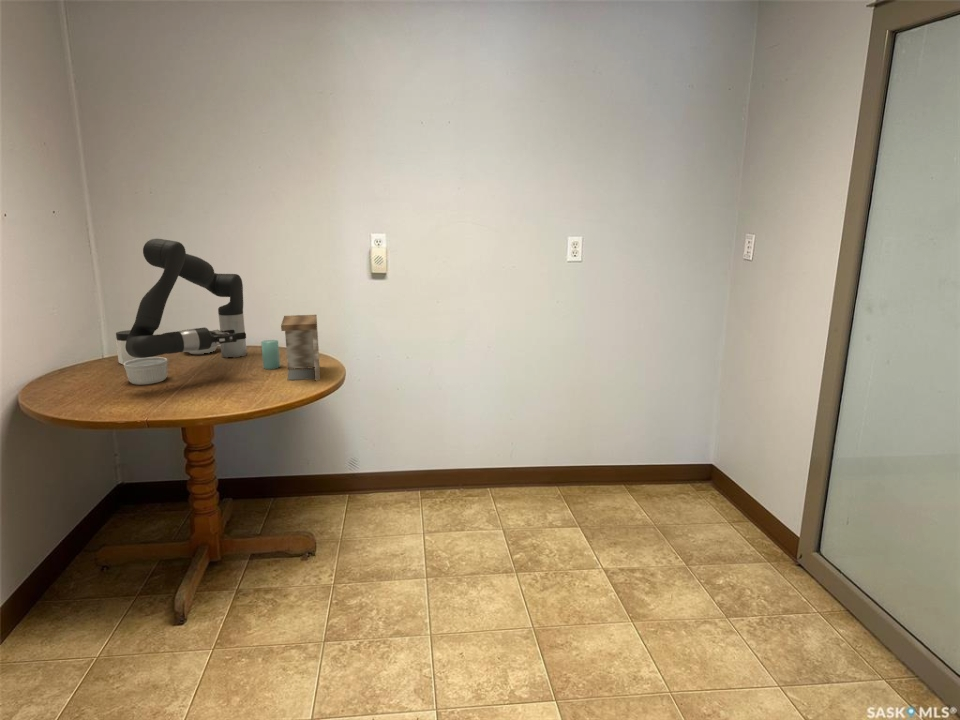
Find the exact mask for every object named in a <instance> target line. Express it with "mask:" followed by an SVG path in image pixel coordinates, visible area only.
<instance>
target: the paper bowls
mask: <svg viewBox="0 0 960 720" xmlns="http://www.w3.org/2000/svg"><path fill="white" fill-rule="evenodd" d="M219 346H221V345H220V344H219V343H215V342H214V343H212V345H211V347H210V348H209V349H205V350H198V351H191V352H188V353H189V354H192V355H205V354H204V353H208V354H211V353H210V352H212V353H214V352H215V351H216V350H217V348H218V347H219ZM213 351H214V352H213Z"/></svg>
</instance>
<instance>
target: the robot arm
mask: <svg viewBox="0 0 960 720" xmlns="http://www.w3.org/2000/svg"><path fill="white" fill-rule="evenodd" d="M142 253H143V257H144V259H145V261H146V262H147V263H148V264H149V265H150V266H153V267H156V268H160V269H163V272H162V275H161V276H160V278H159V279H158V281H157V282H156V283H155V284H154V285H153V286H152V287H151V288H150V289H149V290H148V291H147V292H146V293H145V294H144V296H143V297H142V299H141V300H140V302H139V305H138V309H137V313H136V315H135V319H134V320H135V321H134V323H133V325H132V327H131V329H130V330H131V331H130V333H129V335H128V338H127V340H126V346H125V347H126V351H127V353H128V354H129V355H130V356H132V357H135V358H147V357H159V356H163V355H167V354H168V355H169V354H177V353H184V352H185V353H189V352H191V351H198V350H205V349H209V348H210V347H211V345H212V343H214V342H215V343H219V344H220V345H219V346H220V351H221V352H220V355H221V358H228V357H233V358H241V357H240V356H242V357H245V356H247V354H248V353H247V352H248V351H247V340H246V339H247V333H246V329H245V317H244V284H243V280H242V278H241V276H240V275H239V274H237V273H215V268H213V266H212V264H210V263H209V262H208V261H206V260H205V259H202V258H201V257H198V256H196V255H192V254H189V253H187V251H186V247H185V246H184V244H183V243H182V242H180V241H178V240H177V241H176V240H169V239H163V238H152V239H149V240H147V241H146V242H145V244H144V245H143V248H142ZM178 277H180V278H182V279H184V280H186V281H187V282H190V283H192V284H195V285H197V286H199V287H201V288H204V289H206V290H207V291H209V292H210V293H211V294H212V295H214V296H216V297H219V298H229V301H228V303H227V304H224V305H221V306H219V307H218V309H217V311H218V312H217V313H218V323H219V329H213V330H209V328H207V327H196V328H190V329H189V328H187V329H183V330H179V331H178V330H177V331H171V332H170V331H169V332H163V333H162V334H161V333H160V334H154V333H155V332H156V331H157V330H158V329H159V328H160V326H161V322H162V318H163V315H164V311H165V307H166V305H167V301H168V300H169V299H168V298H169V296H170V294H171V293H172V290H173V289H174V286H175V284H176V283H177V280H178Z"/></svg>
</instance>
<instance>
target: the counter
mask: <svg viewBox="0 0 960 720" xmlns="http://www.w3.org/2000/svg"><path fill="white" fill-rule="evenodd" d="M317 315H318V314H300V315H299V314H297V315H294V314H293V315H283V318H282V321H281V325H280V326H281V327H280V329H281V332H284V334H285V337H284V338H285V346H286V349H285V350H286V360H287V365H286V366H287V370H294V369H295V368H302V369H309V368H308V367H315V368H314V380H316V381H320V380H321V376H320V375H321V373H320V371H321V370H320V368H321V367H320V349H319V334H318V333H319V332H318V318H317ZM293 368H294V369H293Z"/></svg>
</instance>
